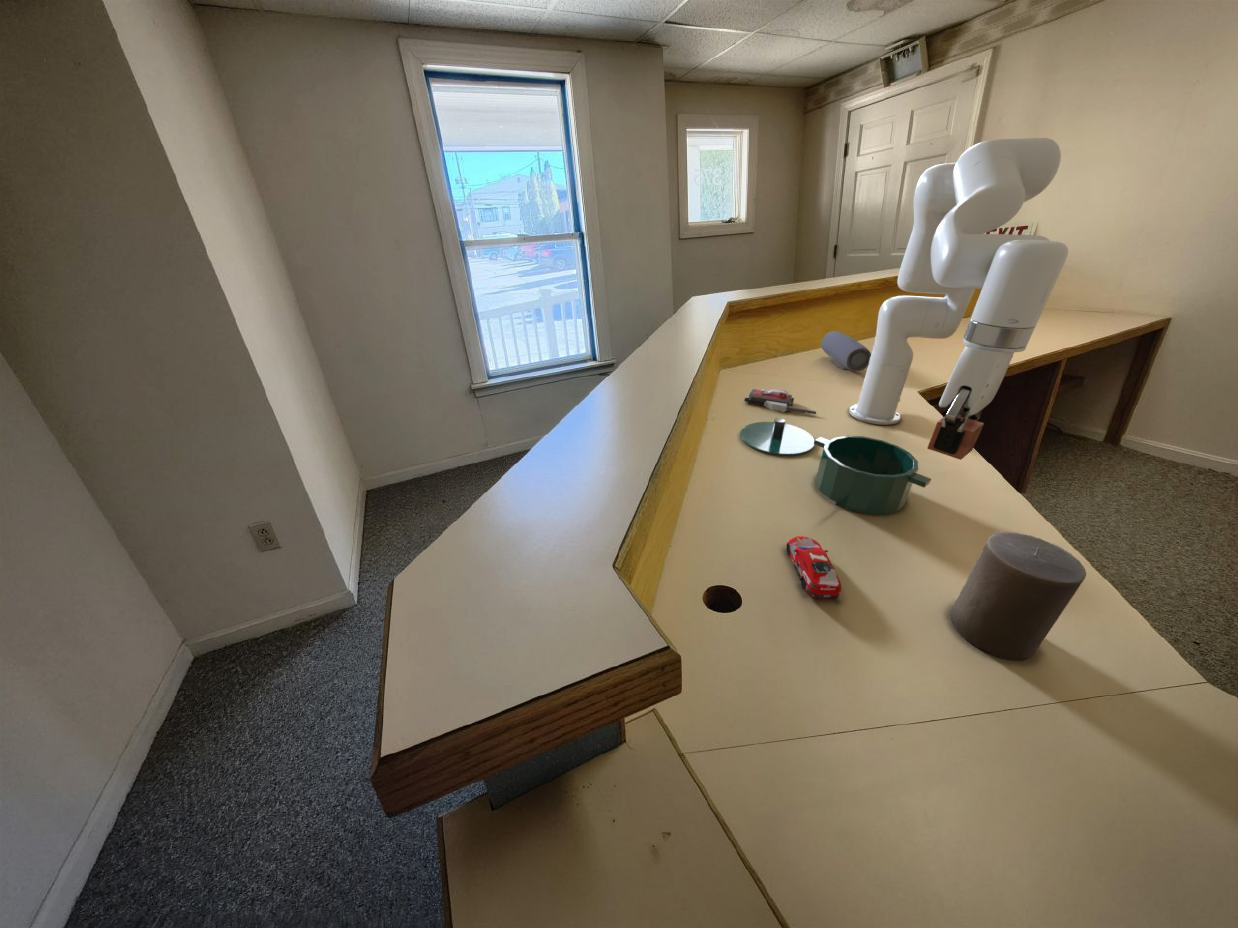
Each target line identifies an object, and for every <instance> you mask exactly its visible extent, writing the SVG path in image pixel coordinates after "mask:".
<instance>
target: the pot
mask: <svg viewBox="0 0 1238 928" xmlns="http://www.w3.org/2000/svg"><path fill="white" fill-rule="evenodd" d="M814 444H815V445H814V446H818V447H820V448H822V454H821V458H820V461H819V465H818V470H817V472H816V477H815V481H814V484H815V485H816V486H817V489H818V491H819V492H820V493H822V495H824V496H825V497H827V498H828V500H831V501H833V502H835V506H838V507H840V508H843V509H844V510H848V511H852V512H854V513H860V514H865V515H875V516H877V515H878V516H882V515H883V516H884V515H890V514H893V513H896V512H898V511H900V510H901V509H902V508H903V507H904V505H905V504H906V502H907V499H908V497H909V494H910V491H911V489H912V486H913V484H914V485H916V486H919V487H921V488H926V487H927V486H929V485H930V484H931V481H932V478H930V477H928V476H925V475H923V474H920V473H918V470H919V461H918V460H917V459H916V457H915V456H914V455H913V454H912V453H911V452H910V451H907V450H906V449H904V448H903V447H901V446H899V445H897V444H894V443H891V442H888V441H885V440H883V439H878V438H872V437H868V436H861V435H842V436H836V437H833V438H831V439H827V438H825V437H823V436H819V437H818V438H814Z"/></svg>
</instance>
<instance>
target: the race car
mask: <svg viewBox="0 0 1238 928" xmlns="http://www.w3.org/2000/svg"><path fill="white" fill-rule="evenodd" d="M828 552H829V550H828V549H823V548H822V546H821V544H820V542H818V541H817V540H815V539H813V538H811V537H808V536H803V535H801V536H800V535H798V536H795V537H793V538H791V539H789V540H788V541H787V543H786V553H787V556H789V558H790V561H791V563H792V565H793V568H794V569H795V573H796V574H797V576H798V579H799V580H800V583H801V587H802V590H804V591H805V593H807V594H808V595H809V596H810V597H812V598H815V599H829V600H830V599H835V600H836V599H837V598H839V597H840V595H841V592H842V583H841V580H840V578H839V576H838V574H837V572H836V570H835V568H834V566H833V564H832V561H831V560H830V557H829V556H828Z"/></svg>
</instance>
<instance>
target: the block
mask: <svg viewBox="0 0 1238 928" xmlns="http://www.w3.org/2000/svg"><path fill="white" fill-rule="evenodd" d="M945 417H946V415H945V416H944V417H942V418H941V419H939V420H938V421H936V424H935V427H934V430H933V432H932V435H931V436H930V437H931V438H930V440H929V443H928V445H927V448H926V449H927V450H931V451H934V452H936V453H940V454H942V455H944V456H947V457H951V458H954V459H957V460H960V461H962V460H963V459H964V458H965V457H966V456H967V455H968V454H970V453H971V452H972V451H973V450H974V447H975V446H976V443H977V440H978V438H979V436H980V435H981V432H982V429H983V427H984V424H985V423H984V422H981V421H978V420H971V419H969V420H968V422H967V424H966V426H965V428H964V430H963V431H964V432H965V434H964V436H963V438H962V441H961V443H960V445H959V448H958V450H957V452H956V453H955V454H949V453H946V452H943V451H940V450H937V449H935V448H934V447H933V446H934V443H935V440H936V438H937V435H938V433H939V430H940V428H941V426H942V423H943V421H944V419H945ZM958 418H961V422H962V420H963V418H964V417H961V416H959V417H958Z"/></svg>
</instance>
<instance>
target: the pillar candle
mask: <svg viewBox="0 0 1238 928" xmlns="http://www.w3.org/2000/svg"><path fill="white" fill-rule="evenodd" d="M1086 577H1087V571H1086V568H1085V566H1084V565H1083V564H1082V562H1081V561H1080V560H1079V559H1078V558H1076V557H1075V556H1074V555H1073V554H1072V553H1071V552H1070V551H1068V550H1065V549H1064V548H1063V547H1061V546H1059V545H1057V544H1054V543H1052V542H1049V541H1046V540H1044V539H1042V538H1040V537H1036V536H1033V535H1030V534H1025V533H1019V532H1013V531H1012V532H1011V531H1010V532H1009V531H996V532H994V533H993V534H992V535H990V536H989V538H988V539H987V541H986V543H985V544H984V547H983V549H982V551H981V553H980V555H979V557H978V559H977V560H976V563H975V565H973V568H972V570H971V572H970V573H969V576H968V577H967V580H966V581H965V583H964V585H963V586H962V588H961V590H960V592H959V594H958V596H957V598H956V600H955V602H954V605H953V607H952V608H951V609H952V610H951V613H950V619H951V622H952V624H953V627H954V628H955V629H956V631H957V632H958V633H959V635H960V636H961V637H962V638H963V639H965V640H966V641H967V642H969V643H970V644H971V645H972V646H974V647H975V648H977V649H979V650H981V651H983V652H985V653H986V654H990V655H992V656H995V657H997V658H1000V659H1003V660H1011V661H1023V660H1027V659H1030V658H1031V657H1033V655H1035V653H1037V651H1038V649H1039V648H1040V646H1041V644H1042V643H1043V641H1044V640H1045V638H1046V637H1047V636H1048V634H1049V633H1050V631H1051V629H1052V628H1053V627H1054V625H1055V624H1056V623H1057V621H1058V619H1059V618H1060V617H1061V615H1062V613H1063V612H1064V610H1065V609H1066V608H1067V605H1069V603H1070V601H1071V600H1072V599H1073V597H1074V595H1075V594H1076V592H1077V591H1078V590H1079V588H1080V586H1081V585H1082V584H1083V582H1084V581H1085V579H1086Z"/></svg>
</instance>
